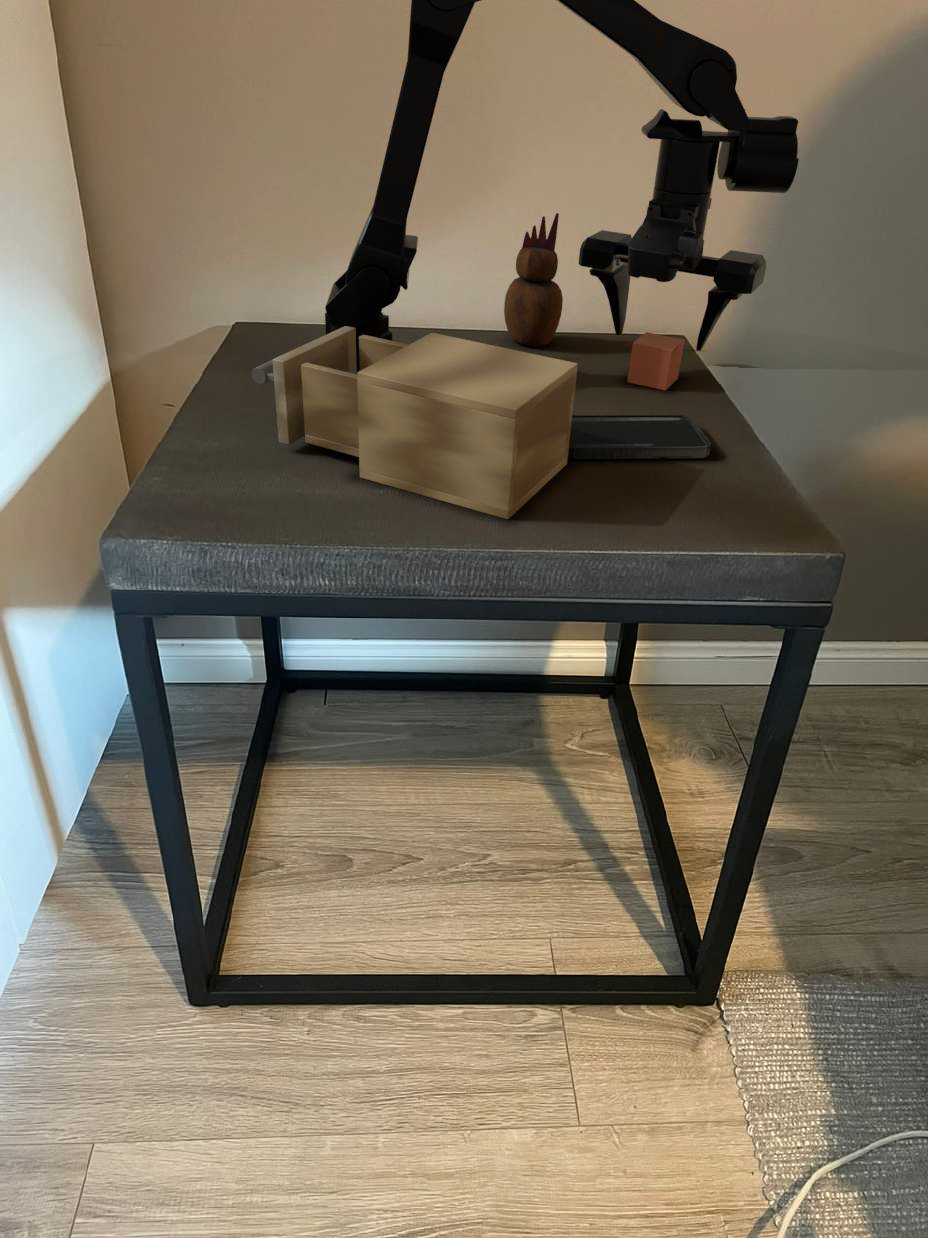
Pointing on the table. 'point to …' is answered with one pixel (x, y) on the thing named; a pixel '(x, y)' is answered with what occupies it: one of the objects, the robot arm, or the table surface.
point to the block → (655, 361)
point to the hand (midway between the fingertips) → (658, 341)
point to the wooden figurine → (535, 290)
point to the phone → (636, 437)
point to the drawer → (322, 388)
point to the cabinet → (465, 422)
